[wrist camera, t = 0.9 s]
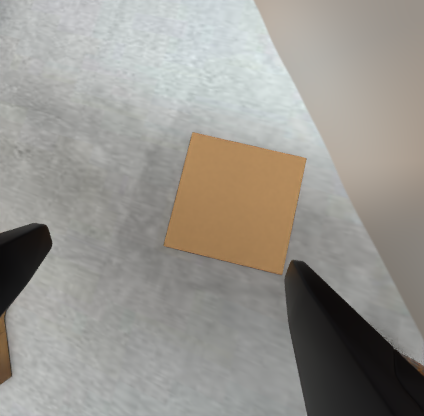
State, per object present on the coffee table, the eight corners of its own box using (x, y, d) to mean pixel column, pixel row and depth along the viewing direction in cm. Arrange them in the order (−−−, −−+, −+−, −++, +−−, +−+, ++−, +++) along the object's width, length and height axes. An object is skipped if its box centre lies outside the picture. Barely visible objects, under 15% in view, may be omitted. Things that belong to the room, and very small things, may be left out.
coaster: (280, 274, 23) (282, 275, 22) (164, 245, 23) (163, 245, 23) (304, 159, 24) (306, 158, 23) (192, 134, 24) (192, 132, 24)
